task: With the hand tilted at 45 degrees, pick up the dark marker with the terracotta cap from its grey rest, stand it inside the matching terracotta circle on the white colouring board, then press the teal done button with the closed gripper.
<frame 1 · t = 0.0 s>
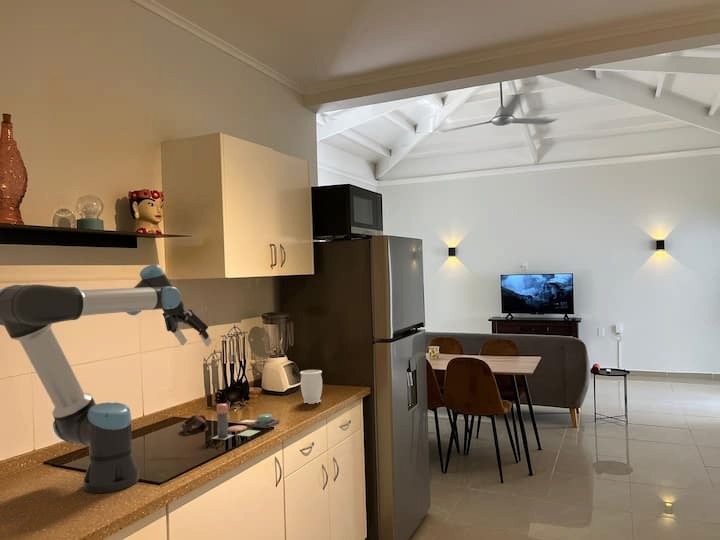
hand: (196, 343, 210), 36 cm above the countertop, tool tilted 35°, fingers open, 13 cm apart
dark brown rock: (197, 433, 213), on the countertop
jar: (312, 402, 258), on the countertop
colouring board: (242, 434, 209), on the countertop
marker: (223, 436, 201), point 1 cm above the countertop, touching colouring board
done button: (264, 418, 216), point 4 cm above the countertop, slide at 0.0 cm
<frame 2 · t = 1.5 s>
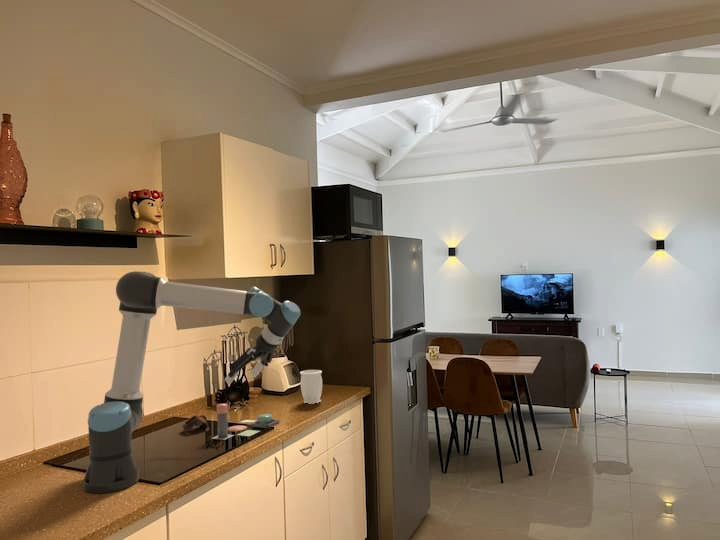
hand: (240, 378, 197), 24 cm above the countertop, tool tilted 45°, fingers open, 13 cm apart
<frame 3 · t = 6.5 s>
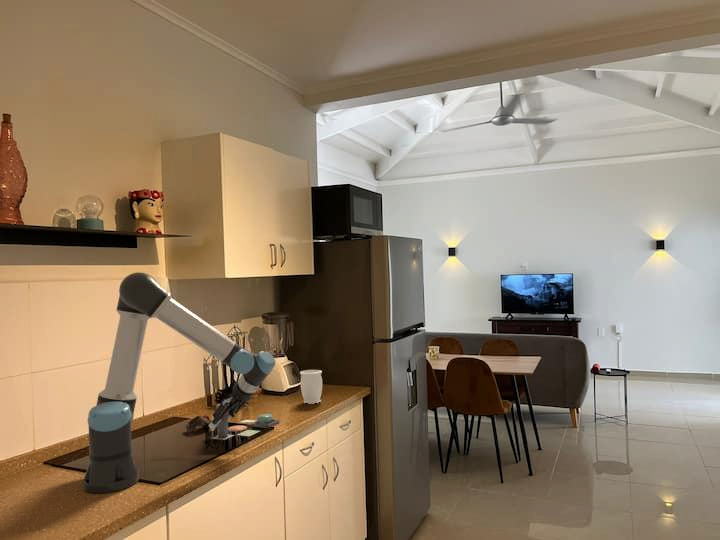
hand: (215, 426, 203), 5 cm above the countertop, tool tilted 45°, fingers closed on marker, 4 cm apart
dark brown rock: (201, 434, 212), on the countertop
marker: (223, 436, 201), point 1 cm above the countertop, touching colouring board, gripper
everything else where it was.
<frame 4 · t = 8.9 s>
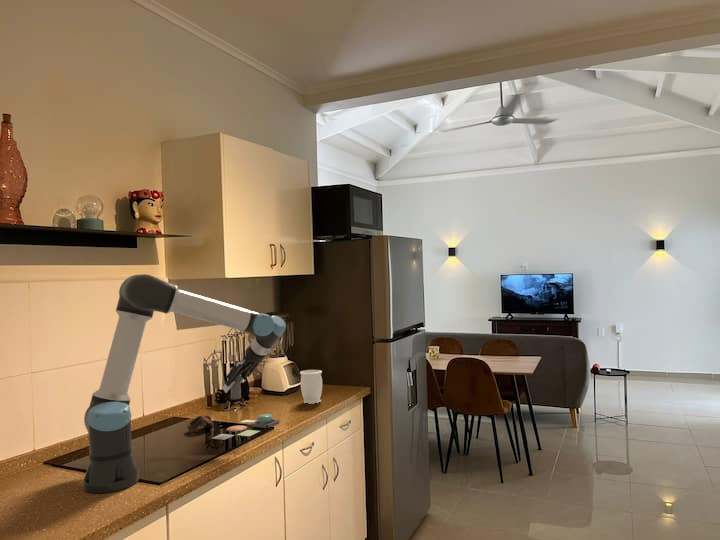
hand: (228, 388, 214), 17 cm above the countertop, tool tilted 45°, fingers closed on marker, 4 cm apart
marker: (236, 398, 212), point 13 cm above the countertop, touching gripper
when the fingers open (6 cm above the countertop, at t = 11.5 s): marker stays where it is, resting on colouring board.
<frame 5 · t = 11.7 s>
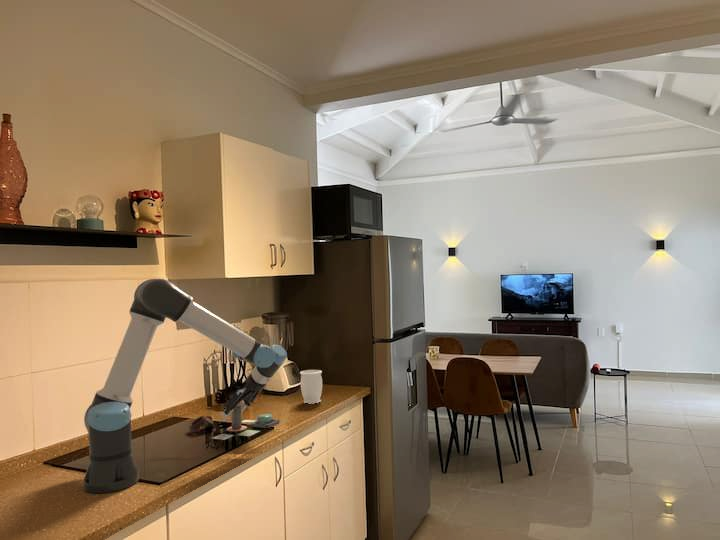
hand: (229, 415, 214), 6 cm above the countertop, tool tilted 45°, fingers open, 7 cm apart
marker: (236, 428, 212), point 1 cm above the countertop, touching colouring board
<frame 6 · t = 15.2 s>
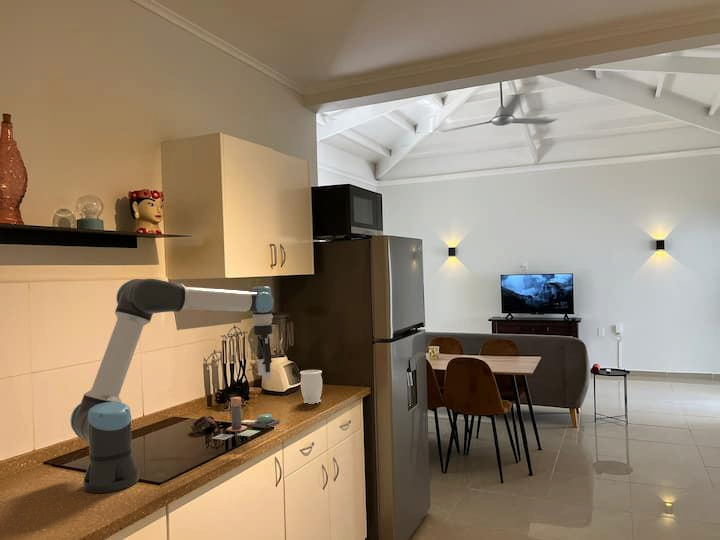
hand: (264, 377, 216), 20 cm above the countertop, tool pointing down, fingers open, 12 cm apart
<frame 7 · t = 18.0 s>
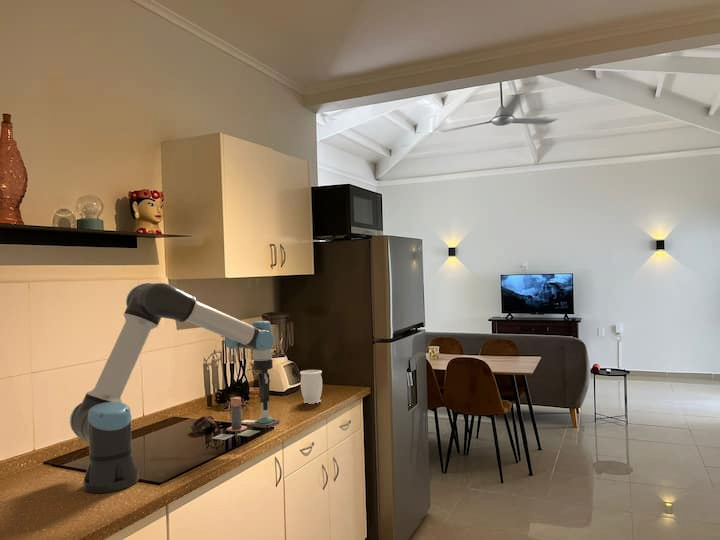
hand: (265, 417, 216), 4 cm above the countertop, tool pointing down, fingers closed
done button: (265, 420, 216), point 3 cm above the countertop, slide at 0.8 cm, touching gripper
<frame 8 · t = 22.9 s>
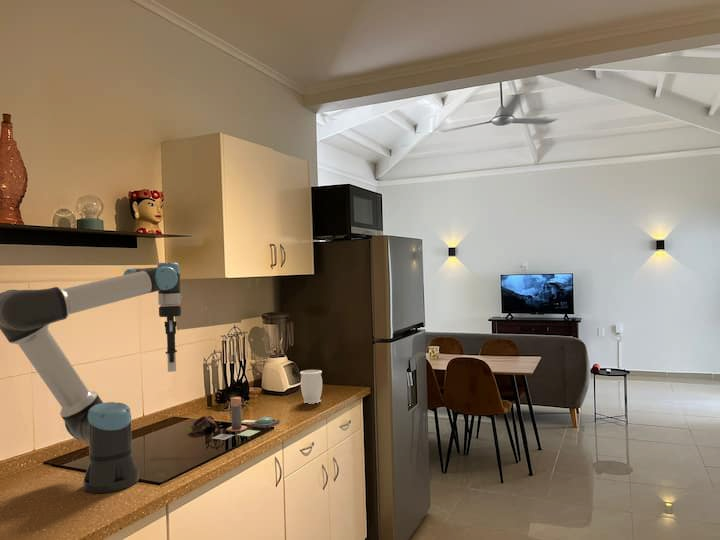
hand: (171, 371, 191), 28 cm above the countertop, tool pointing down, fingers closed
done button: (265, 421, 216), point 3 cm above the countertop, slide at 1.2 cm
at the end: marker 0.0 cm from the target spot, point 1.4 cm above the countertop; marker tilted 0°; done button slide at 1.2 cm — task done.
